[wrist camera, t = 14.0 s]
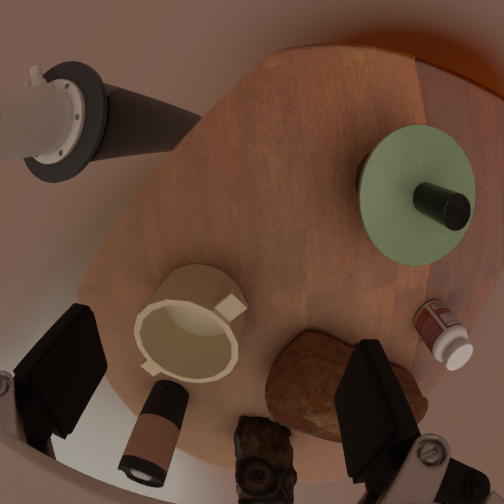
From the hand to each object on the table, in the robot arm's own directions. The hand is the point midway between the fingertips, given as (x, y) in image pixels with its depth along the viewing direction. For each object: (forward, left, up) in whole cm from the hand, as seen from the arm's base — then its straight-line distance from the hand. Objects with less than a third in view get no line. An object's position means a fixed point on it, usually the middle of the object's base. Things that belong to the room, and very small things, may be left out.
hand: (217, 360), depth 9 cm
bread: (+32, +3, -27) cm, 42 cm away
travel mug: (+26, -29, -27) cm, 47 cm away
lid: (+3, +16, -17) cm, 24 cm away
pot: (+10, -13, -27) cm, 31 cm away
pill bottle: (+26, +19, -27) cm, 42 cm away
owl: (+43, -18, -27) cm, 54 cm away
